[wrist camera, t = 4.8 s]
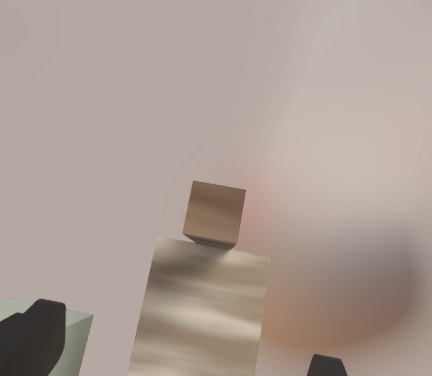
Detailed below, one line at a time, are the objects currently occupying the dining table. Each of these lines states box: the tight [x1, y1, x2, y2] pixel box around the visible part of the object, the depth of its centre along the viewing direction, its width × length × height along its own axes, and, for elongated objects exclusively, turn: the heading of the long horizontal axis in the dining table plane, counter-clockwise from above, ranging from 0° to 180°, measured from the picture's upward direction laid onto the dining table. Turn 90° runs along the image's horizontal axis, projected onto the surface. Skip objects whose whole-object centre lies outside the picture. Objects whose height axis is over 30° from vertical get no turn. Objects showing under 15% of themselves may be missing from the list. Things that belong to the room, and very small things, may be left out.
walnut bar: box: [182, 181, 246, 250], centre depth 30 cm, size 26×3×3 cm, turn 179°
